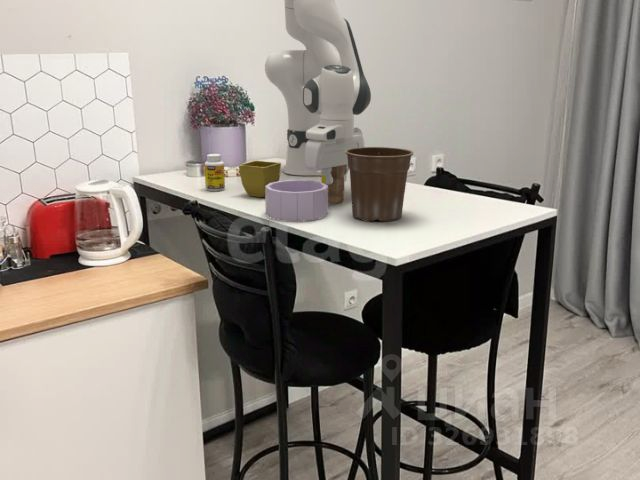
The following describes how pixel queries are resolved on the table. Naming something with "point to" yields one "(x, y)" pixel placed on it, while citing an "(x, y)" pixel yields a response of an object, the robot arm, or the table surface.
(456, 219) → the table surface
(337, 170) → the brown wooden block
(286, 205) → the lilac round bowl
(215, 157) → the supplement bottle
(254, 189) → the flower pot
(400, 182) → the plant pot
